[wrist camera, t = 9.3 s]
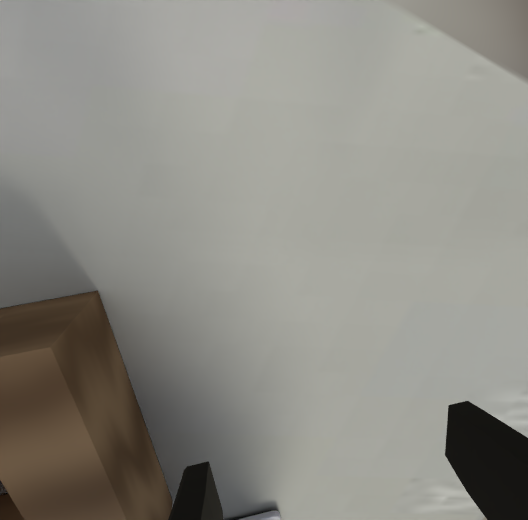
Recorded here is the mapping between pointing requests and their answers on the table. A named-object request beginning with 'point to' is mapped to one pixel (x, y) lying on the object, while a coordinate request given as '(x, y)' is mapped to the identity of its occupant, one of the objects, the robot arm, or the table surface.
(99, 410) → the wooden frame tray
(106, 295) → the table surface
